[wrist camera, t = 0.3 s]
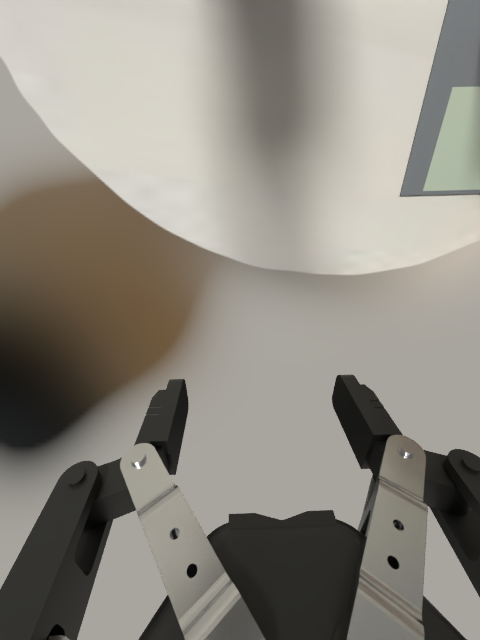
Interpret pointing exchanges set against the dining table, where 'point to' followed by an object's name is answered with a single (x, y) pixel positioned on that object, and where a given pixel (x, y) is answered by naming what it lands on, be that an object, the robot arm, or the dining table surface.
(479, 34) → the mat
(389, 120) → the dining table surface
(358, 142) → the dining table surface
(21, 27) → the dining table surface
